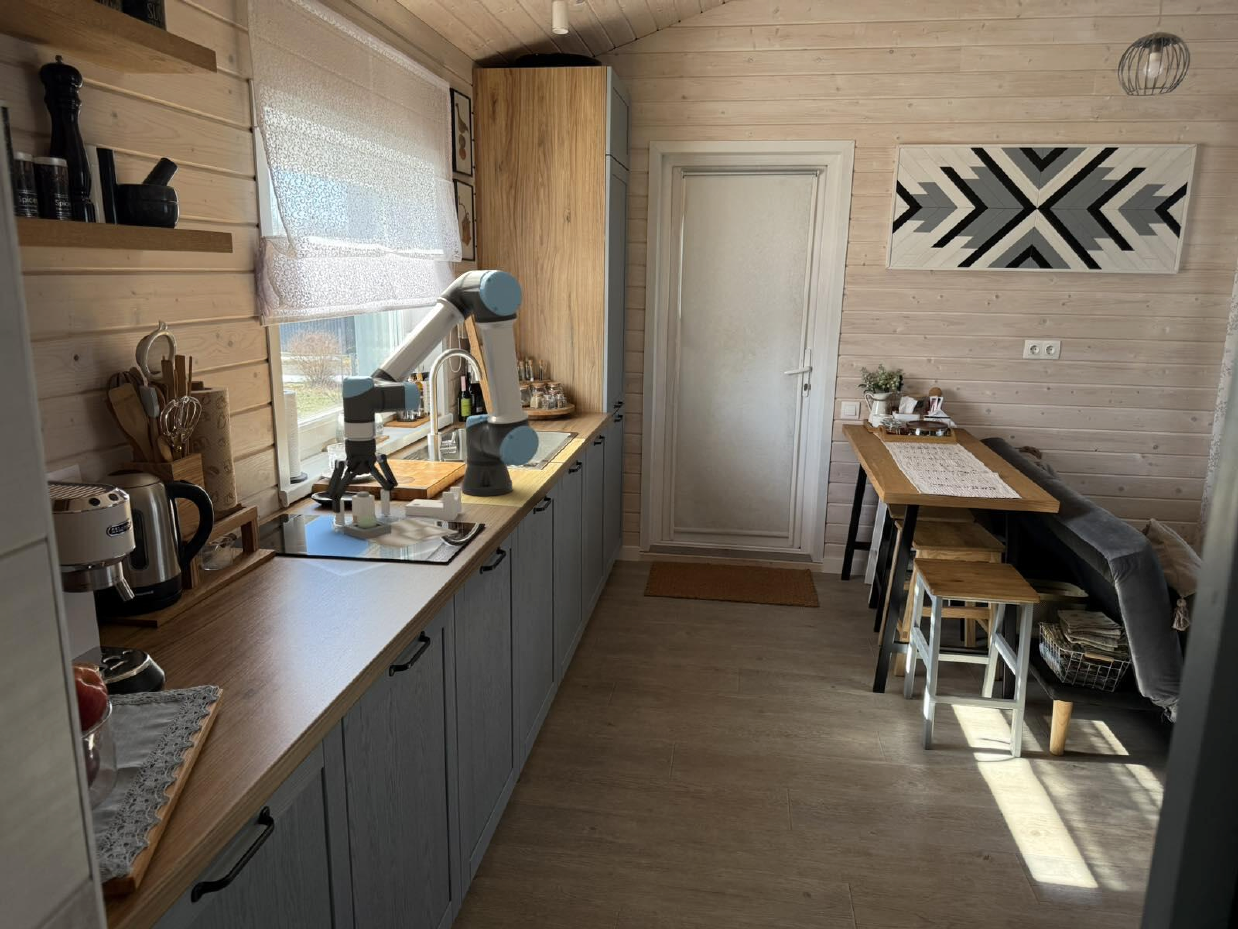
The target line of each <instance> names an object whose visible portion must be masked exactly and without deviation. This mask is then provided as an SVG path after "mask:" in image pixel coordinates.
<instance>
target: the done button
mask: <svg viewBox="0 0 1238 929" xmlns="http://www.w3.org/2000/svg"><path fill="white" fill-rule="evenodd" d="M377 521H378V520H377V516H376V515H375V516H373V515H364V516H360V517H358V528H362V529H369V528H373V527H377Z"/></svg>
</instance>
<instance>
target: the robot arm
mask: <svg viewBox="0 0 1238 929" xmlns="http://www.w3.org/2000/svg"><path fill="white" fill-rule="evenodd" d="M522 290H523V289H522V287H521V284H520V283H519V281H518V280H517V279H516V277H515V276H513V274H511V273H509V272H506V271H503V270H497V269H490V270H489V269H488V270H477V269H476V270H470V271H467V272H464V273H463V274H462V275H461V276H459V277H458V278H456V279H455V280H454V281H453V282H452V283H451V284H450V285H449V286H448V287H447V288H446V289H445V290H444V291H443V292H442V293H441V294H440V296H439V297H437V299H436V304H435V307H434V308H433V309H431V311H429V313H427V315H426V316H424V318H423V319H422V321H420V322H419V324H417V326H416V327H415V328H414V329H413V330H412V331H411V332H410V333H409V334H408V335H407V337H406V338H405V339H404V340H402V342H401V343H400V344H399V345H398V346H397V347H396V349H395V350H393V351H392V353H391V354H390V355H389V356H388V357H387V358H386V359H385V361H384V362H382V363H381V364H380V366H379V367H378V368H377V369H376V370H375V371H374V372H373V373H372V374H371V375H370V376H367V375H352V376H351V375H350V376H346V377H345V378H343V380H342V389H341V390H342V391H341V392H342V393H341V397H342V406H343V407H342V408H343V410H342V411H343V426H344V428H343V429H344V437H345V438H346V439H345V440H344V451H345V455H346V459H345V460H343V459H342V460H341V459H336V460H334V469H333V471H332V474H331V477H330V479H329V482H328V484H327V488H326V491H325V493H324V498H325V499H329V500H331V502H332V511H333V513H335V525H338V526H341V527H344V526H345V525H346V524H345V523H346V522H345V521H346V520H345V519H346V518H345V503H344V502H345V500H344V499H342V497H343V496H344V494H345V493H346V491H347V490H348V488H349V486H350V484H351V483H352V482H353V480H354V479H355V478H356V477H357V476H362V475H368V474H369V475H371V476H372V477H373V478H374V480H375V481H377V483H378V484H379V485H380V486H381V487H382V489H380V514H381V515H383V516H390V515H391V508H390V507H391V504H390V503H391V502H392V500H393V498H392V492H393V491H394V490H395V488H396V487H398V485H399V483H398V481H397V479H396V477H395V475H394V473H393V471H392V469H391V467H390V464H389V463H388V458H387V457H388V456H387V454H386V453H381V452H378V453H377V454H376V452H377V440H376V438H375V437H376V435H377V433H376V432H377V431H376V414H381V413H382V414H384V413H398V412H404V413H407V412H411V411H415V410H417V409H418V408H419V406H420V404H421V391H420V389H419V386H418V384H417V383H415V382H413V381H406V380H407V379H409V377H410V376H411V375H412V374H413V373H414V372H415V371H416V369H418V367H420V365H421V364H422V363H423V362H424V361H425V360H426V359H427V358H428V357H429V355H431V353H433V351H434V350H435V349H436V348H437V347H438V346H439V345H440V344H441V342H442V341H443V340H444V339H445V338H446V337H447V336H448V335H449V334H450V333H451V332H452V330H454V329H455V327H456V326H457V325H458V324H459V325H460V324H461V325H462V324H464V323H465V322H466V321H467V319H468V318H470V317H472V316H473V319H474V320H473V321H474V324H475V325H476V326H478V327H479V328H480V330H481V337H482V338H481V339H482V345H483V353H484V361H485V368H486V375H487V384H488V392H489V400H490V407H491V408H490V409H491V413H490V414H489V413H487V414H478V415H477V414H475V415H470V416H467V418H466V421H465V437H466V438H465V440H466V443H465V444H466V446H465V447H466V467H465V472H464V476H463V480H462V482H461V493H464V494H466V495H471V496H481V497H484V496H485V497H492V496H493V497H494V496H501V495H505V494H508V493H511V492H512V491H513V482H512V479H511V475H510V472H509V469H508V466H517V467H519V466H524V465H526V464H528V463H529V462H530V461H532V460H533V458H534V456H535V455H536V454H537V452H538V450H539V443H540V440H539V435H538V433H537V431H536V430H534V428H532V427H531V425H530V419H529V414H528V413H527V412H525V411H524V410H523V405H522V395H521V386H520V377H519V372H518V371H519V370H518V361H517V354H516V353H517V352H516V345H515V343H516V342H515V338H514V337H515V336H514V329H513V325H514V324H515V323H516V322H517V320H518V314H517V311H518V310H519V308H520V305H521V304H522V303H523V302H522V301H523V291H522ZM376 463H377V464H378V465H379V468H380V469H381V471H382V472H380V470H379V469H378V468H377V467H376V465H375V464H376ZM507 465H508V466H507Z"/></svg>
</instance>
